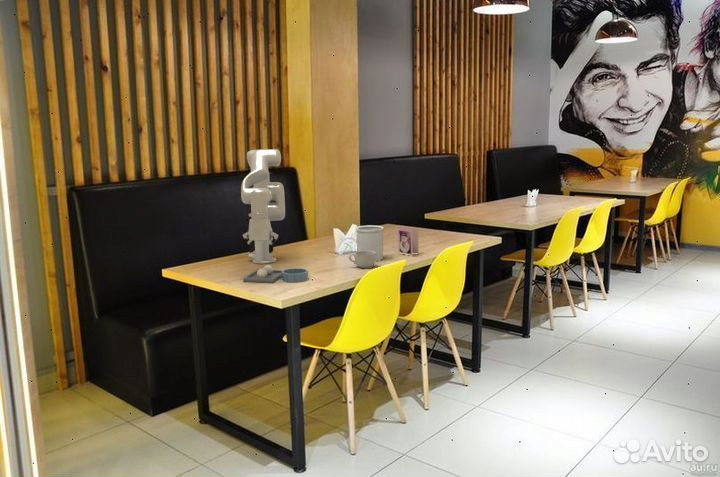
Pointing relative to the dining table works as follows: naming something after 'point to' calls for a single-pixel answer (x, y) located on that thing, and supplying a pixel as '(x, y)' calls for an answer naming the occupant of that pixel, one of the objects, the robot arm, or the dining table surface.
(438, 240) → the dining table surface
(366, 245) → the utensil holder
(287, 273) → the bowl
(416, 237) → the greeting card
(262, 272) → the pebble
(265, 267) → the pebble
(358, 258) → the teacup
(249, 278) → the parts tray
